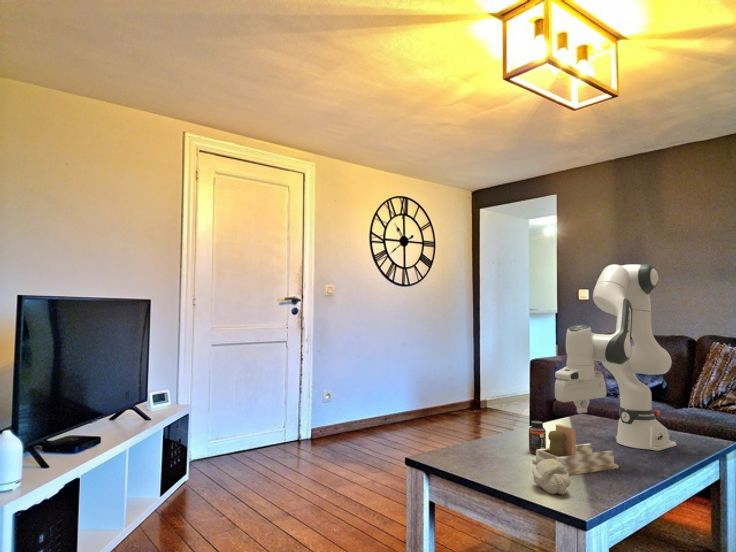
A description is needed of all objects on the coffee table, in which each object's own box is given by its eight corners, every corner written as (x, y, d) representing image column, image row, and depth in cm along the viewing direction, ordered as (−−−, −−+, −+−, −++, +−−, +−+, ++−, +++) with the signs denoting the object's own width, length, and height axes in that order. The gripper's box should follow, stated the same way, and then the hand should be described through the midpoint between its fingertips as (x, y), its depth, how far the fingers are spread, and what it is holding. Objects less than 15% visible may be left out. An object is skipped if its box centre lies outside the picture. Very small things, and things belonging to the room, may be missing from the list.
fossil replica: (555, 501, 132) (579, 497, 137) (559, 470, 132) (582, 468, 137) (522, 483, 143) (544, 480, 147) (525, 455, 143) (547, 453, 148)
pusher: (559, 459, 165) (559, 424, 166) (576, 466, 158) (575, 429, 159) (556, 460, 164) (555, 424, 165) (572, 466, 157) (571, 429, 158)
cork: (544, 462, 162) (543, 429, 163) (561, 461, 163) (561, 429, 164) (552, 467, 156) (551, 433, 157) (570, 467, 157) (569, 433, 158)
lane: (585, 456, 173) (585, 442, 174) (618, 468, 160) (618, 452, 161) (532, 463, 164) (532, 448, 165) (562, 476, 151) (562, 460, 152)
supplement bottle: (547, 456, 173) (546, 424, 174) (530, 454, 174) (529, 423, 175) (544, 451, 179) (544, 420, 180) (528, 450, 180) (527, 419, 181)
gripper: (595, 369, 173) (597, 407, 172) (551, 373, 165) (552, 413, 164) (610, 371, 167) (611, 411, 166) (564, 375, 159) (566, 417, 159)
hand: (581, 412), depth 165 cm, fingers closed
